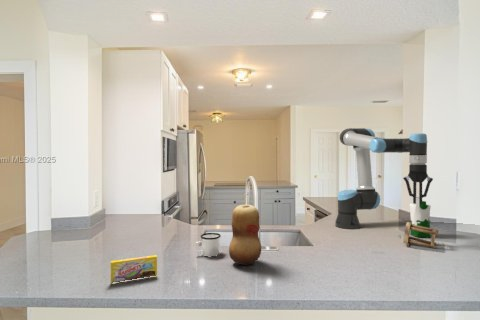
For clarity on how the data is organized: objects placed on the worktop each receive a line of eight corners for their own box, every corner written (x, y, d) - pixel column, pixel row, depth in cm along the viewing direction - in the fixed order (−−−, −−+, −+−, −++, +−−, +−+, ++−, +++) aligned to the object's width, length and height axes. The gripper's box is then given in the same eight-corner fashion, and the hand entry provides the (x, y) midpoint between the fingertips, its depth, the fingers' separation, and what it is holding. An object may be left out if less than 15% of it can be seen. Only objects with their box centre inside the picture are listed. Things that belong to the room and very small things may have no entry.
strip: (406, 247, 140) (406, 244, 140) (408, 240, 152) (408, 238, 152) (408, 247, 140) (408, 245, 140) (410, 240, 152) (410, 238, 152)
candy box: (110, 285, 101) (110, 262, 101) (110, 283, 103) (110, 260, 103) (157, 277, 108) (157, 256, 107) (156, 275, 109) (156, 254, 109)
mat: (409, 247, 140) (409, 247, 140) (411, 240, 151) (411, 240, 151) (444, 252, 132) (444, 252, 132) (443, 244, 143) (443, 244, 143)
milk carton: (415, 238, 156) (415, 201, 156) (407, 233, 165) (407, 199, 165) (432, 238, 155) (432, 202, 155) (423, 234, 164) (423, 199, 164)
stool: (405, 225, 143) (438, 232, 135) (407, 221, 150) (438, 228, 142) (403, 242, 143) (436, 250, 136) (404, 238, 151) (436, 245, 143)
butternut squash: (238, 272, 111) (237, 209, 111) (224, 261, 123) (223, 204, 123) (267, 266, 118) (267, 206, 117) (251, 256, 129) (251, 201, 129)
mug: (217, 250, 139) (217, 231, 139) (223, 256, 130) (223, 236, 130) (193, 253, 135) (193, 234, 135) (197, 259, 126) (197, 239, 126)
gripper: (402, 164, 144) (402, 210, 144) (433, 164, 137) (433, 213, 137) (403, 163, 150) (403, 207, 151) (433, 163, 143) (433, 210, 143)
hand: (417, 210), depth 144 cm, fingers closed
